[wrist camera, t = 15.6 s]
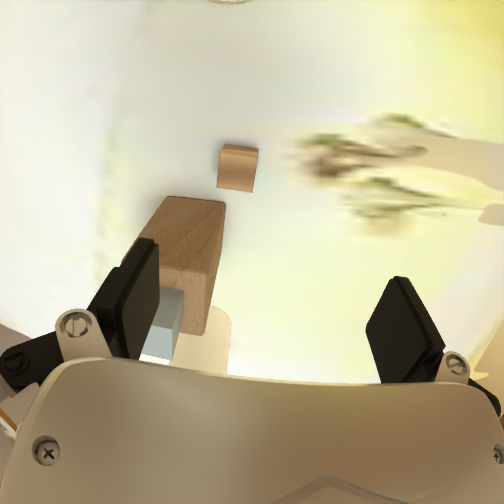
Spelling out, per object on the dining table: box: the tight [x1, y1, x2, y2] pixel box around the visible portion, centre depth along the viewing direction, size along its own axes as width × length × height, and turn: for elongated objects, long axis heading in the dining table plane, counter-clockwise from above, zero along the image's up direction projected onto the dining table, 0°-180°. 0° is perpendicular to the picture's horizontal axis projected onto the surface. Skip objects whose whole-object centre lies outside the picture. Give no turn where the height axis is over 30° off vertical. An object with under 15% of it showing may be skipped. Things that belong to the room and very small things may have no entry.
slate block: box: [141, 286, 184, 360], centre depth 31 cm, size 5×5×6 cm
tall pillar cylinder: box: [169, 306, 231, 374], centre depth 52 cm, size 11×11×25 cm
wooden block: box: [121, 196, 226, 336], centre depth 42 cm, size 10×10×20 cm
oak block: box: [216, 145, 258, 193], centre depth 43 cm, size 5×5×6 cm
